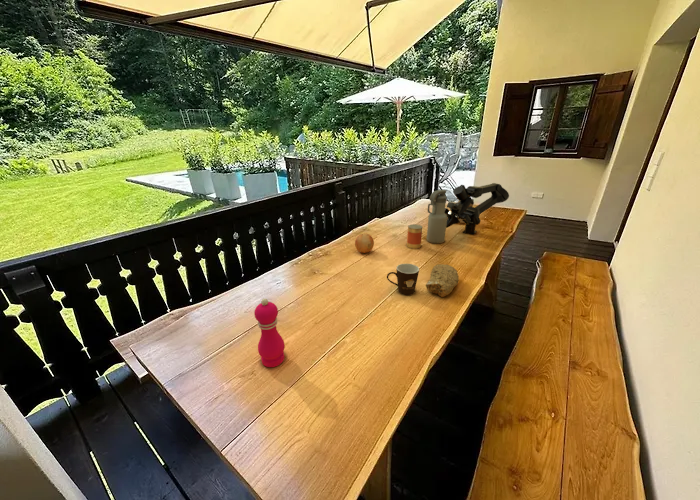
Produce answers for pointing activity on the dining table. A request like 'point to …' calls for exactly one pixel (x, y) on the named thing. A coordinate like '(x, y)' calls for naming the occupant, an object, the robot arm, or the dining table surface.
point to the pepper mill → (269, 334)
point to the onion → (364, 243)
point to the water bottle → (437, 217)
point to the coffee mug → (406, 278)
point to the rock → (442, 279)
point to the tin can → (414, 236)
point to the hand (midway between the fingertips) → (445, 227)
